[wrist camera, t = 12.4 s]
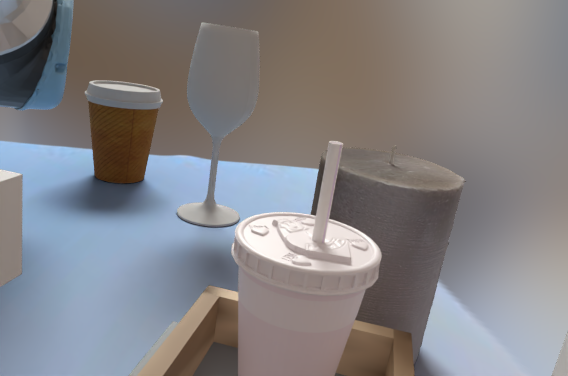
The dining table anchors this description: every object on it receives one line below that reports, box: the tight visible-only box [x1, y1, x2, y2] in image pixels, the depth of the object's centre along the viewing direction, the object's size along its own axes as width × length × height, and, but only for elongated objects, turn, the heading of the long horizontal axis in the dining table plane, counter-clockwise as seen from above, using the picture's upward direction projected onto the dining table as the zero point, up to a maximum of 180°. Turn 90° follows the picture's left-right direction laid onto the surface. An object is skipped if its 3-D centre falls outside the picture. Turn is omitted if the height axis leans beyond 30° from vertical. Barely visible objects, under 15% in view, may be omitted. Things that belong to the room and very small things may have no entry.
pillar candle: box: [311, 146, 466, 364], centre depth 36 cm, size 10×10×15 cm
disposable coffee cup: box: [85, 81, 163, 183], centre depth 66 cm, size 10×10×12 cm
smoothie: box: [231, 141, 381, 376], centre depth 23 cm, size 6×6×14 cm
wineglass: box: [177, 23, 260, 227], centre depth 56 cm, size 8×8×21 cm
